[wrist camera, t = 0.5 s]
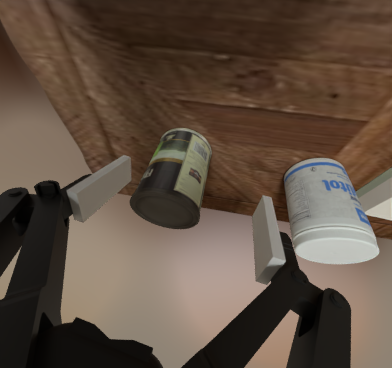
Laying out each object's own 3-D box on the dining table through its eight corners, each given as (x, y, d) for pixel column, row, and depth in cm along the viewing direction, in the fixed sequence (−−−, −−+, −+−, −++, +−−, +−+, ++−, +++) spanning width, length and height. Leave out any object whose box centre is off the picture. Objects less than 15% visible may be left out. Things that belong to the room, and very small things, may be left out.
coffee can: (155, 156, 37) (126, 215, 28) (167, 117, 29) (133, 181, 20) (199, 175, 39) (184, 235, 30) (222, 143, 31) (211, 211, 22)
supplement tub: (357, 161, 29) (408, 250, 20) (320, 193, 36) (345, 269, 27) (298, 150, 29) (320, 232, 20) (273, 184, 37) (282, 256, 28)
